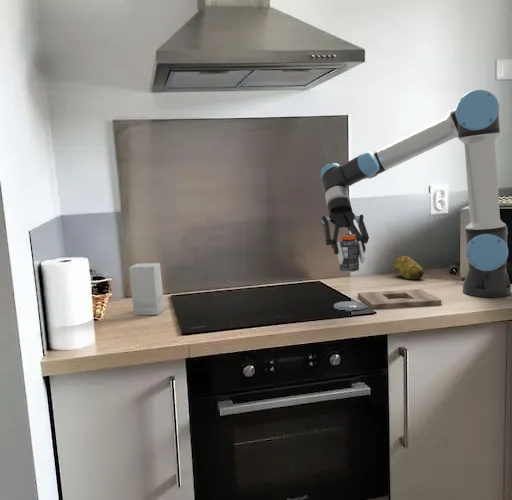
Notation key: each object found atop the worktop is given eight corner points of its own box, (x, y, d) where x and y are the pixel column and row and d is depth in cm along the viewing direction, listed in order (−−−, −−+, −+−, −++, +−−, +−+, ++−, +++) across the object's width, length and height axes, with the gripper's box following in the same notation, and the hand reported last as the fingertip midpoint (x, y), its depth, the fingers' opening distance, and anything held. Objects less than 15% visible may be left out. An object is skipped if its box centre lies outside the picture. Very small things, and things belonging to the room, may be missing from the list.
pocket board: (421, 293, 191) (421, 289, 191) (441, 304, 176) (441, 300, 175) (357, 297, 189) (357, 292, 189) (372, 309, 173) (372, 304, 173)
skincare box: (164, 310, 181) (161, 262, 179) (157, 316, 175) (153, 266, 172) (140, 310, 183) (137, 262, 181) (131, 315, 176) (128, 266, 174)
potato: (405, 281, 210) (405, 260, 209) (391, 275, 223) (391, 255, 222) (425, 280, 212) (426, 259, 210) (410, 273, 224) (410, 254, 223)
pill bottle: (358, 268, 178) (358, 232, 176) (359, 272, 172) (359, 235, 170) (339, 268, 179) (338, 233, 177) (340, 272, 173) (339, 235, 171)
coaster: (360, 302, 182) (360, 300, 182) (370, 310, 172) (370, 308, 172) (330, 304, 181) (330, 302, 181) (338, 312, 171) (338, 310, 171)
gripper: (364, 209, 189) (379, 266, 175) (308, 212, 187) (319, 269, 173) (369, 194, 183) (385, 252, 169) (311, 197, 181) (323, 255, 167)
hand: (352, 261), depth 171 cm, fingers closed on pill bottle, 6 cm apart
